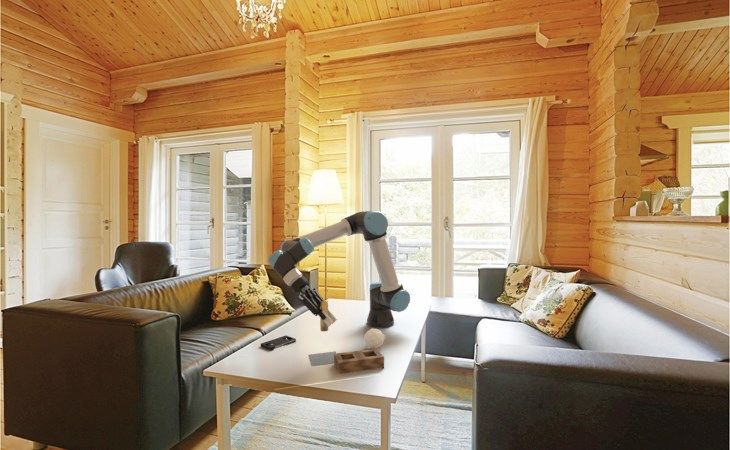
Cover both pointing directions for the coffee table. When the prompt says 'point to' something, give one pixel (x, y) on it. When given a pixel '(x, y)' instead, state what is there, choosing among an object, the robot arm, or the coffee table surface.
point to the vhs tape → (278, 342)
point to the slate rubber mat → (322, 358)
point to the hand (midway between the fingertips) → (332, 323)
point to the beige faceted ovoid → (374, 338)
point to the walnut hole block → (358, 360)
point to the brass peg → (325, 308)
